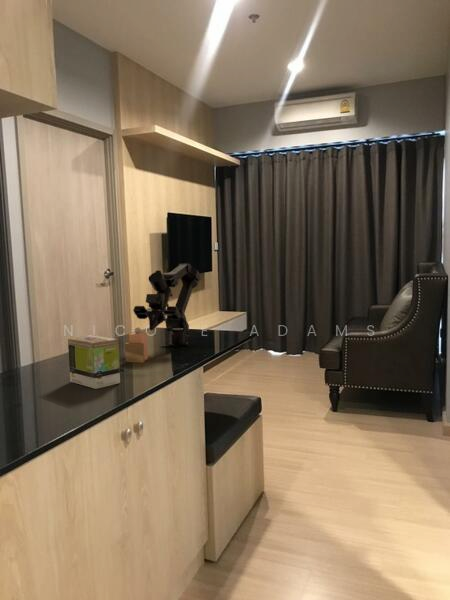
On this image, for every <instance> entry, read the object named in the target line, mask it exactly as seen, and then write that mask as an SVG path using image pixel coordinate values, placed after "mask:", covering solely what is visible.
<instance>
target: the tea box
mask: <svg viewBox="0 0 450 600" xmlns="http://www.w3.org/2000/svg"><path fill="white" fill-rule="evenodd" d="M67 345H68V346H67V347H68V348H67V349H68V365H69V366H68V367H69V379H70V381H69V382H71V383H73V384H79V385H80V386H84V387H88V388H91V389H94V390H96V389H101V388H105V387H110V386H114V385H117V384H120V382H121V373H120V372H121V371H120V369H121V368H120V354H119V353H120V351H119V350H120V349H119V347H120V346H119V339H118V338H117V337H115V338H114V337H108V336H102V335H97V334H95V335H94V334H89V335H83V336H78V337H71V338H67Z"/></svg>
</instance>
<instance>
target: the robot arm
mask: <svg viewBox="0 0 450 600" xmlns="http://www.w3.org/2000/svg"><path fill="white" fill-rule="evenodd" d="M201 277H202V276H201V273H200V272H199V270H198V269H197V268H195V267H193V266H192V265H191V264H190V263H179V264H178V266H176V267H175V268H174V269H173V270H171V271H170V272H164V273H162V271H161V270H155V272H152V273H151V274H150V275H149V277H148V281H149V283H150V285H151V287H152V288H153V290H154V291H155V292H156V293H147V294H146V298H145V303H147V304H148V307H147V308H146V307H145V305H135V306H134V308H133V309H132V311H133V313H134V314H135V316H136V318H137V319H139V320H146V319H147V318H148V320H149V322H148V325H149V326H148V327H149V331H153V330H155V329H156V328H157V327H159V325H161V324H162V323H164V322H165V327H166V331H167V332H169V335H168V337H169V343H168V345H171V346H174V347H178V346H186V345H189V343H188V342H187V332H188V331H189V330H190V324H189V322H188V321H187V316H186V315H185V314H186V309H187V307H188V304H189V301H190V297H191V295H192V291H193V290H194V289H195V288H196V287H197V286H199V285H198V284H199V282H200V281H201ZM179 280H181V283H182V284H181V285H182V286H181V288H180V291H179V294H178V296H177V299H176V300H177V301H176V304H175V305H173V306H172V305H171V306H170V304H169V302H170V301H169V300H170V298H172V297H173V291H172V289H171V288H176V287H177V286H178V285H179Z"/></svg>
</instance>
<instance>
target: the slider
mask: <svg viewBox="0 0 450 600" xmlns="http://www.w3.org/2000/svg"><path fill="white" fill-rule="evenodd" d="M128 341H129V342H128V343H144V358H145V361H146V360H148V359H149V356H148V355H149V354H148V333H147V332H143V331H142V328H140V327H135V328H134V332H132V333H129V334H128Z"/></svg>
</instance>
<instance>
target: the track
mask: <svg viewBox="0 0 450 600" xmlns="http://www.w3.org/2000/svg"><path fill="white" fill-rule="evenodd" d="M124 351H125V353H124V354H125V363H143V364H144V363H145V362H146V360H145V358H144V343H129V342H125V343H124Z"/></svg>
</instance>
